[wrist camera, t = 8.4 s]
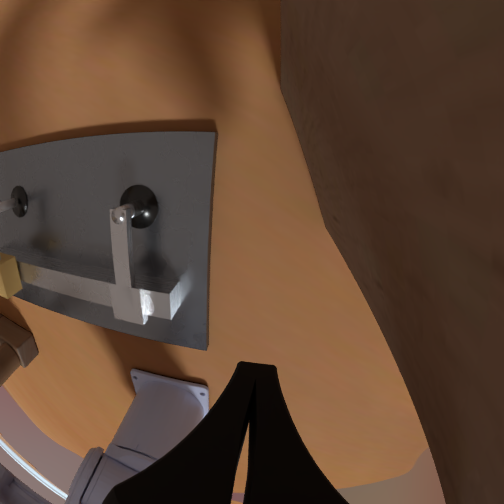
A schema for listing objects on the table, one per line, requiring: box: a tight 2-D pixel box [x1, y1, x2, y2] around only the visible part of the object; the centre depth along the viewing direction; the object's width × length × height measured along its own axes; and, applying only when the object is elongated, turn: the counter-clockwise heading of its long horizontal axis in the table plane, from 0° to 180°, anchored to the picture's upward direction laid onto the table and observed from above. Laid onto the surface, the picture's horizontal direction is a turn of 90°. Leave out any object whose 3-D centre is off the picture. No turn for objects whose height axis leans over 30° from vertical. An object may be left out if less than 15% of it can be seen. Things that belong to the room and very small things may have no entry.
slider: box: [0, 198, 23, 299], centre depth 17 cm, size 8×3×4 cm, turn 175°
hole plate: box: [0, 132, 218, 351], centre depth 18 cm, size 16×26×4 cm, turn 85°
